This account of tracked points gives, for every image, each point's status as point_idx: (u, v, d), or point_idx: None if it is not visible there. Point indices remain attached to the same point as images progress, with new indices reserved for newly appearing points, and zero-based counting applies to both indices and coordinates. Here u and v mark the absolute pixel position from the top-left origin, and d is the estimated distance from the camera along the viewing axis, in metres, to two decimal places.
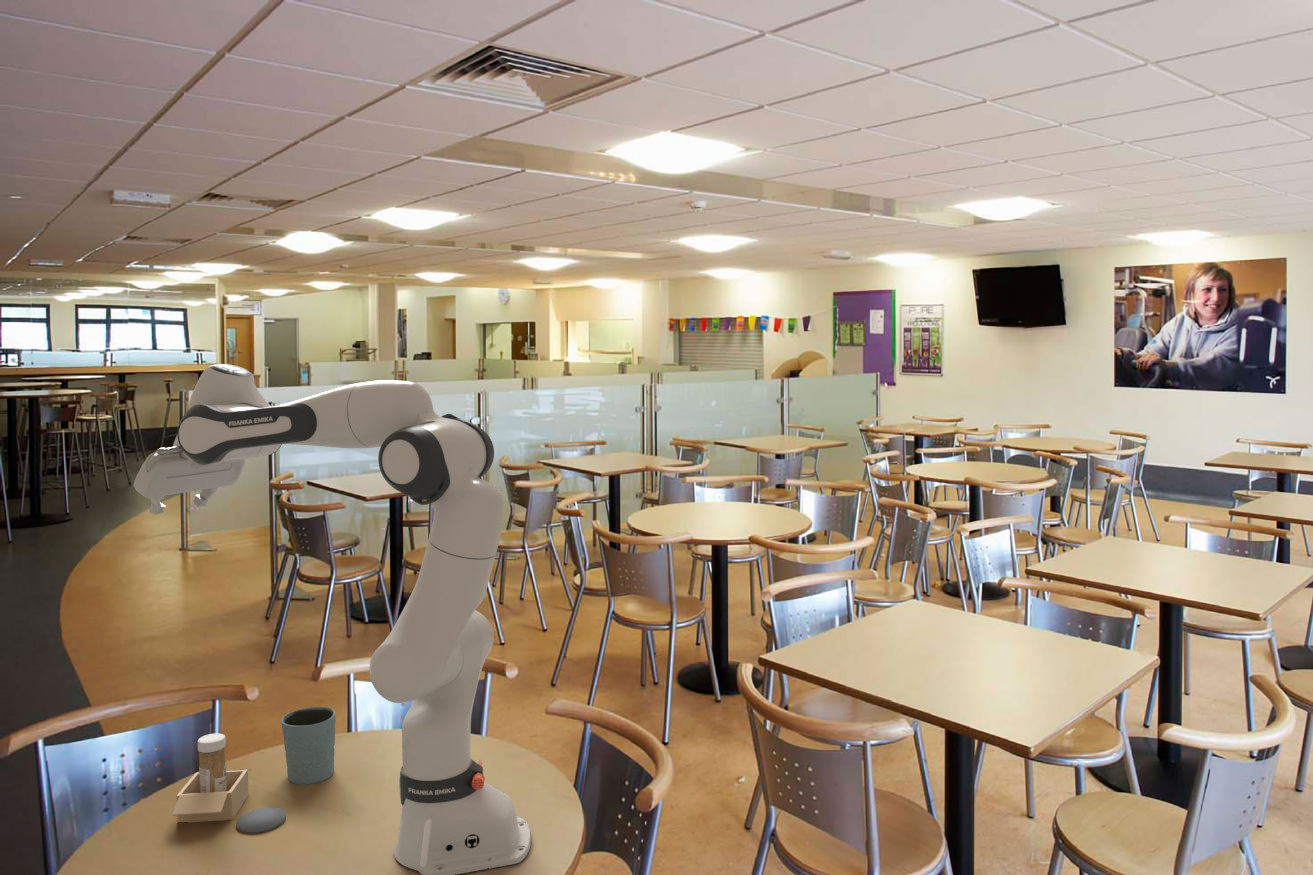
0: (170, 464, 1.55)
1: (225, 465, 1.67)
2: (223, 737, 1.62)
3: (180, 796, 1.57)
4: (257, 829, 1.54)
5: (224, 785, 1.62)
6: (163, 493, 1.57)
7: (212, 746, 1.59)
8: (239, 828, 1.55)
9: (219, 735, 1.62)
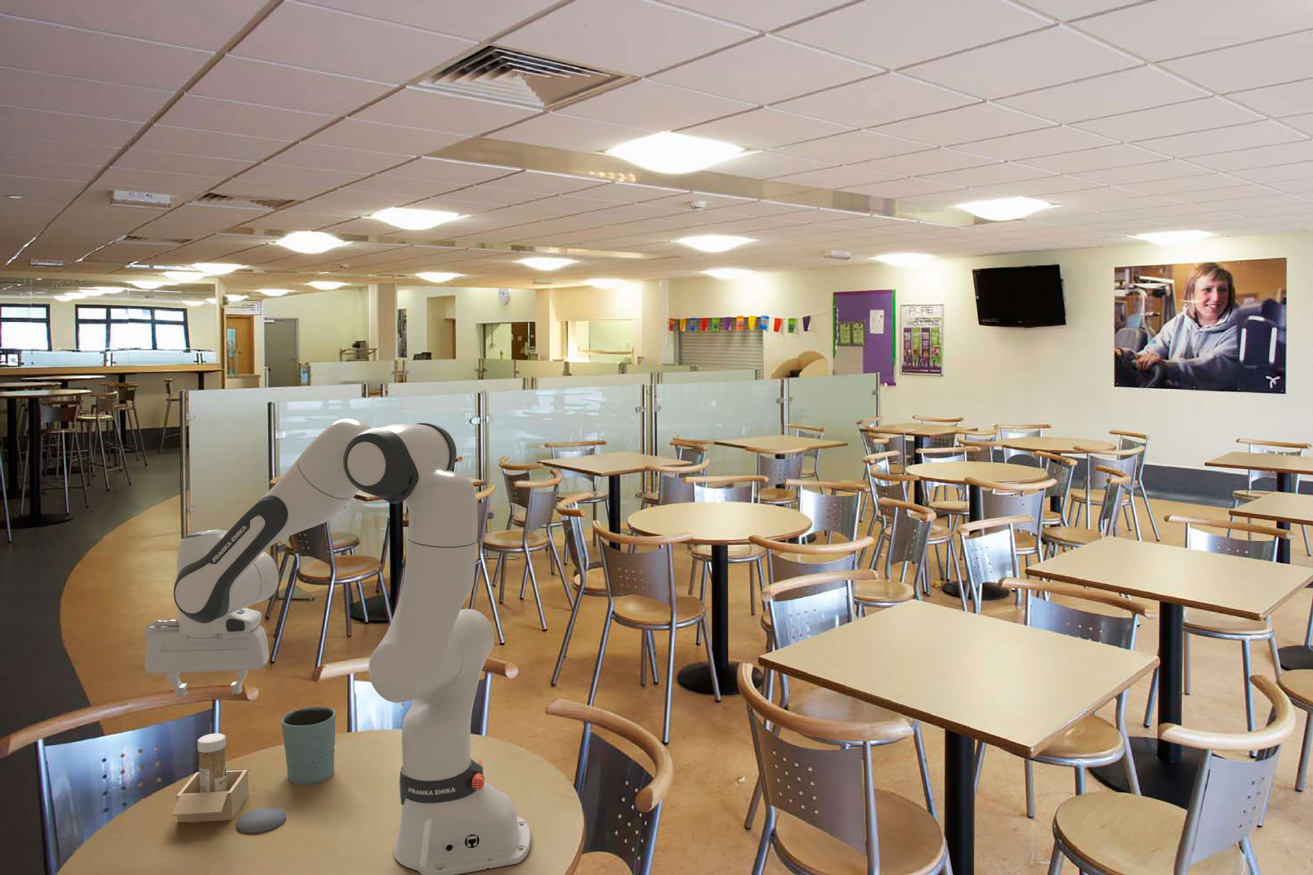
0: (160, 636, 1.57)
1: (237, 643, 1.59)
2: (223, 737, 1.62)
3: (180, 796, 1.57)
4: (257, 829, 1.54)
5: (224, 785, 1.62)
6: (166, 669, 1.58)
7: (212, 746, 1.59)
8: (239, 828, 1.55)
9: (219, 735, 1.62)
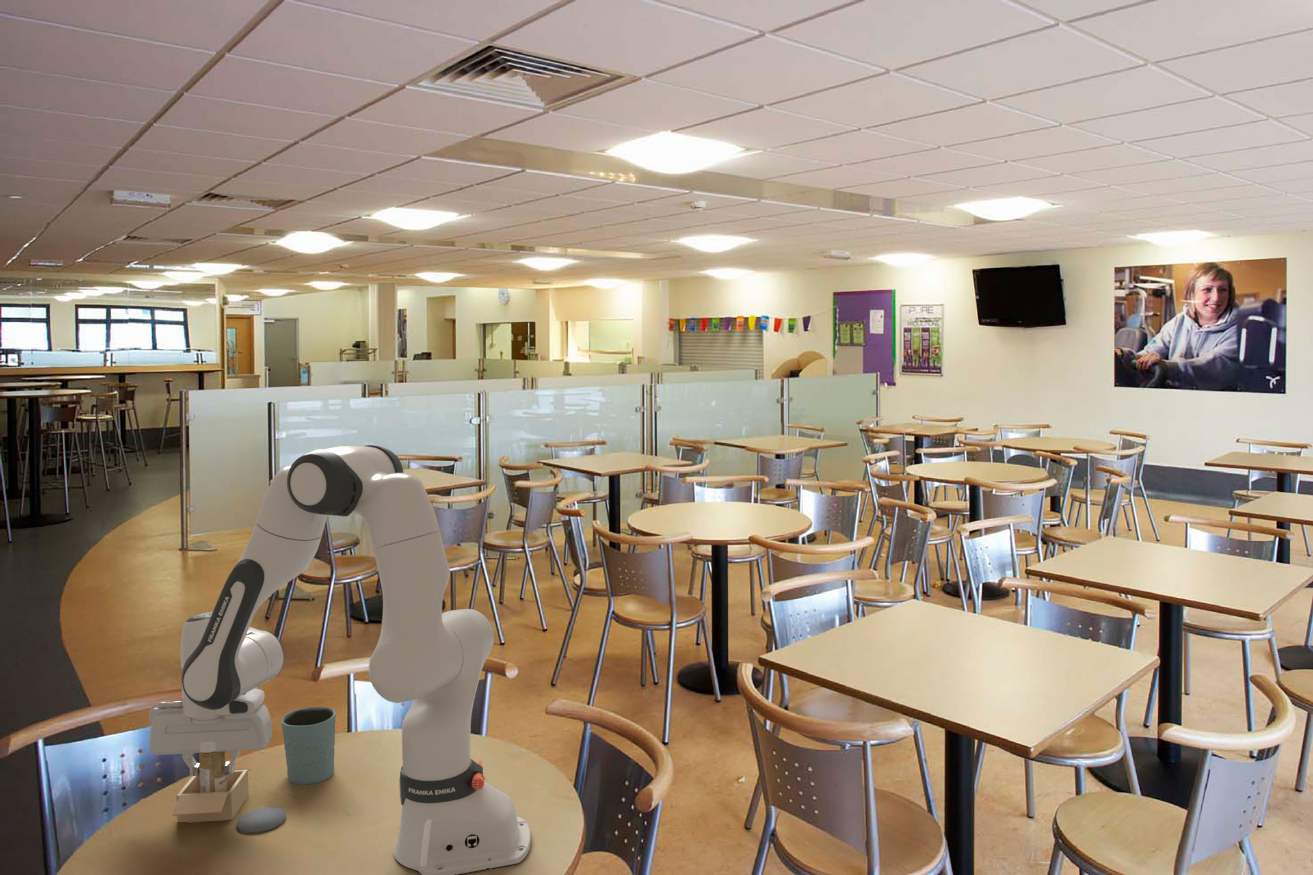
0: (164, 718, 1.58)
1: (241, 724, 1.60)
2: None
3: (180, 796, 1.57)
4: (257, 829, 1.54)
5: (224, 785, 1.62)
6: (170, 750, 1.59)
7: (212, 746, 1.59)
8: (239, 828, 1.55)
9: None
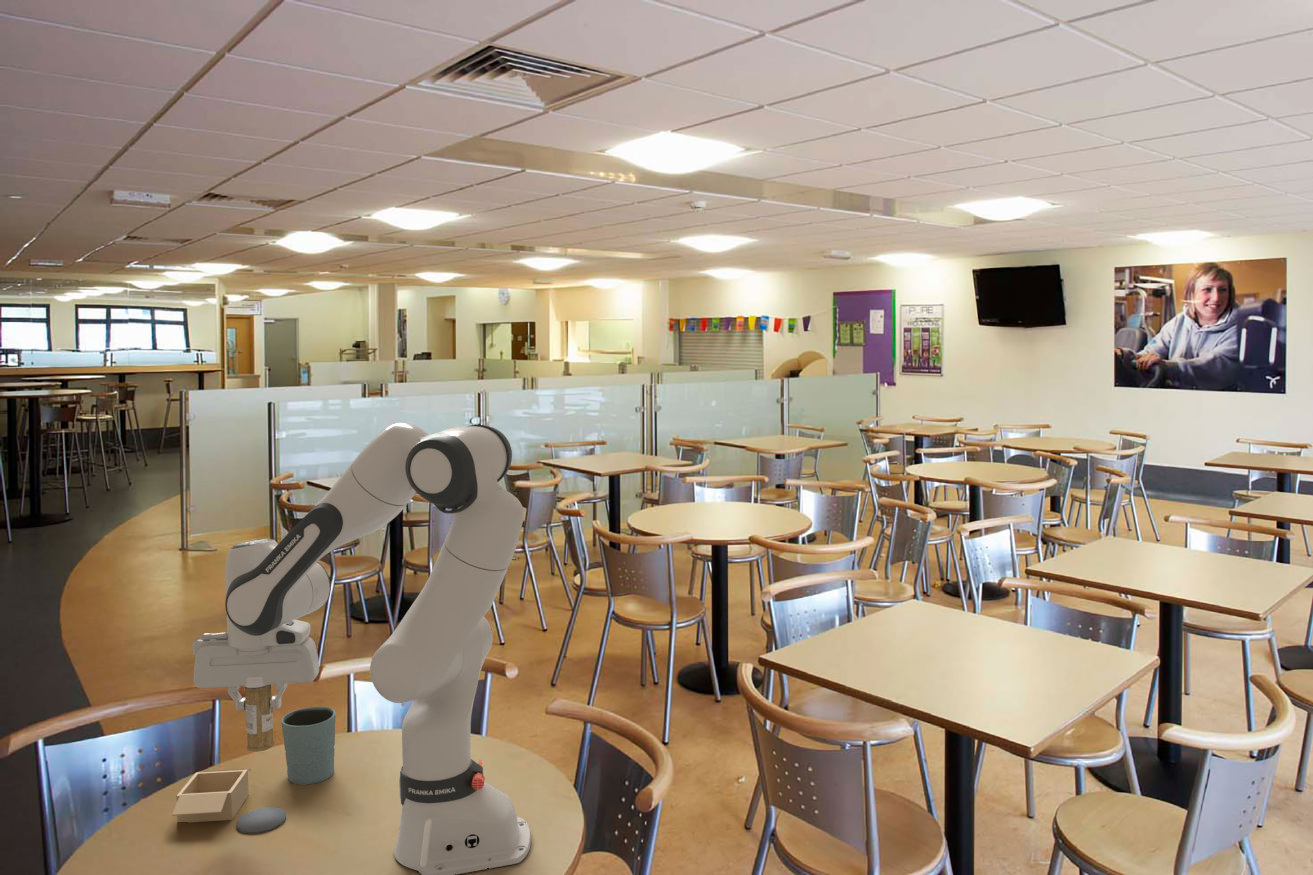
0: (209, 650, 1.53)
1: (288, 656, 1.55)
2: None
3: (180, 796, 1.57)
4: (257, 829, 1.54)
5: (271, 722, 1.56)
6: (215, 684, 1.53)
7: (259, 681, 1.54)
8: (239, 828, 1.55)
9: None
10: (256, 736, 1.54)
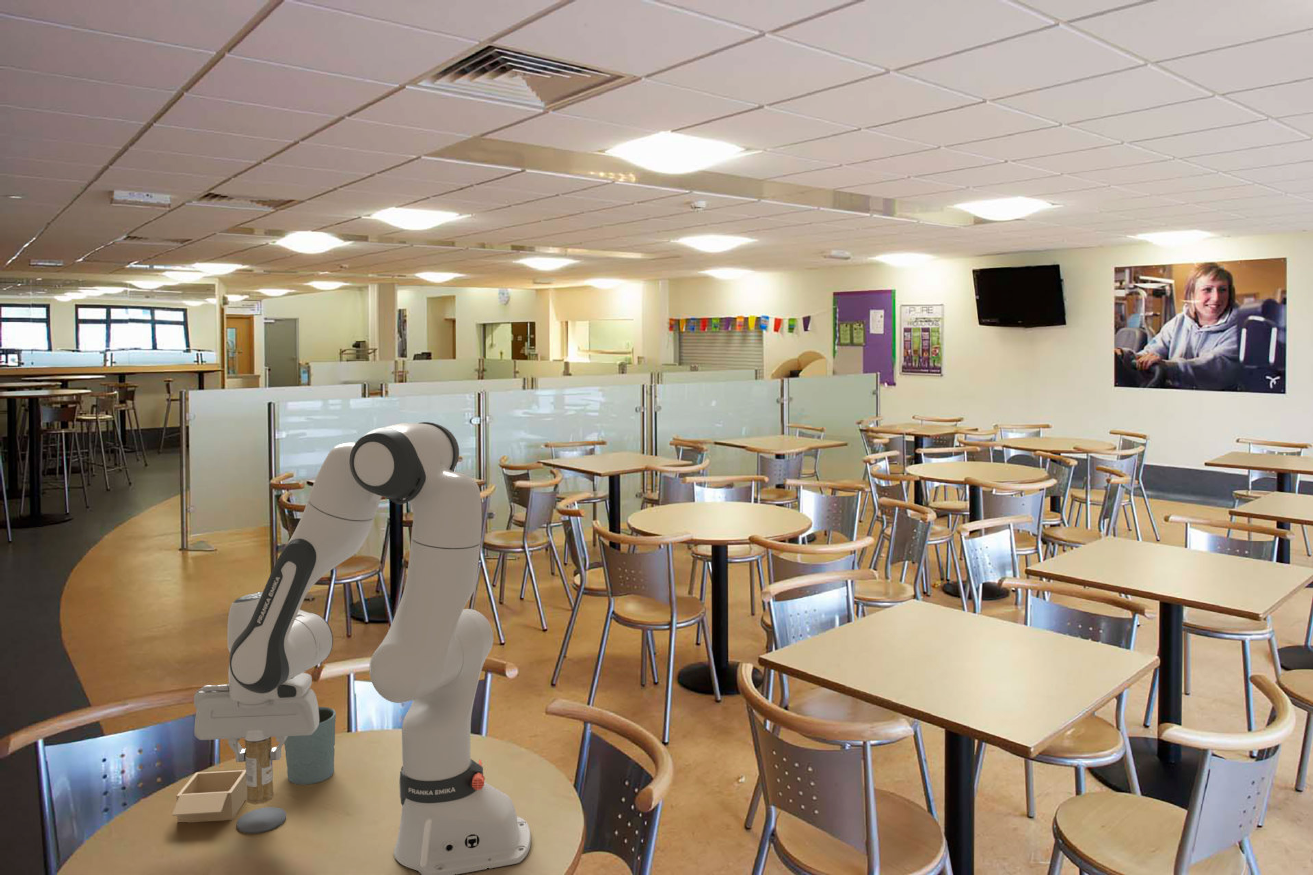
0: (210, 702, 1.53)
1: (288, 708, 1.55)
2: None
3: (180, 796, 1.57)
4: (257, 829, 1.54)
5: (271, 775, 1.57)
6: (215, 735, 1.54)
7: (259, 735, 1.55)
8: (239, 828, 1.55)
9: None
10: (256, 789, 1.55)
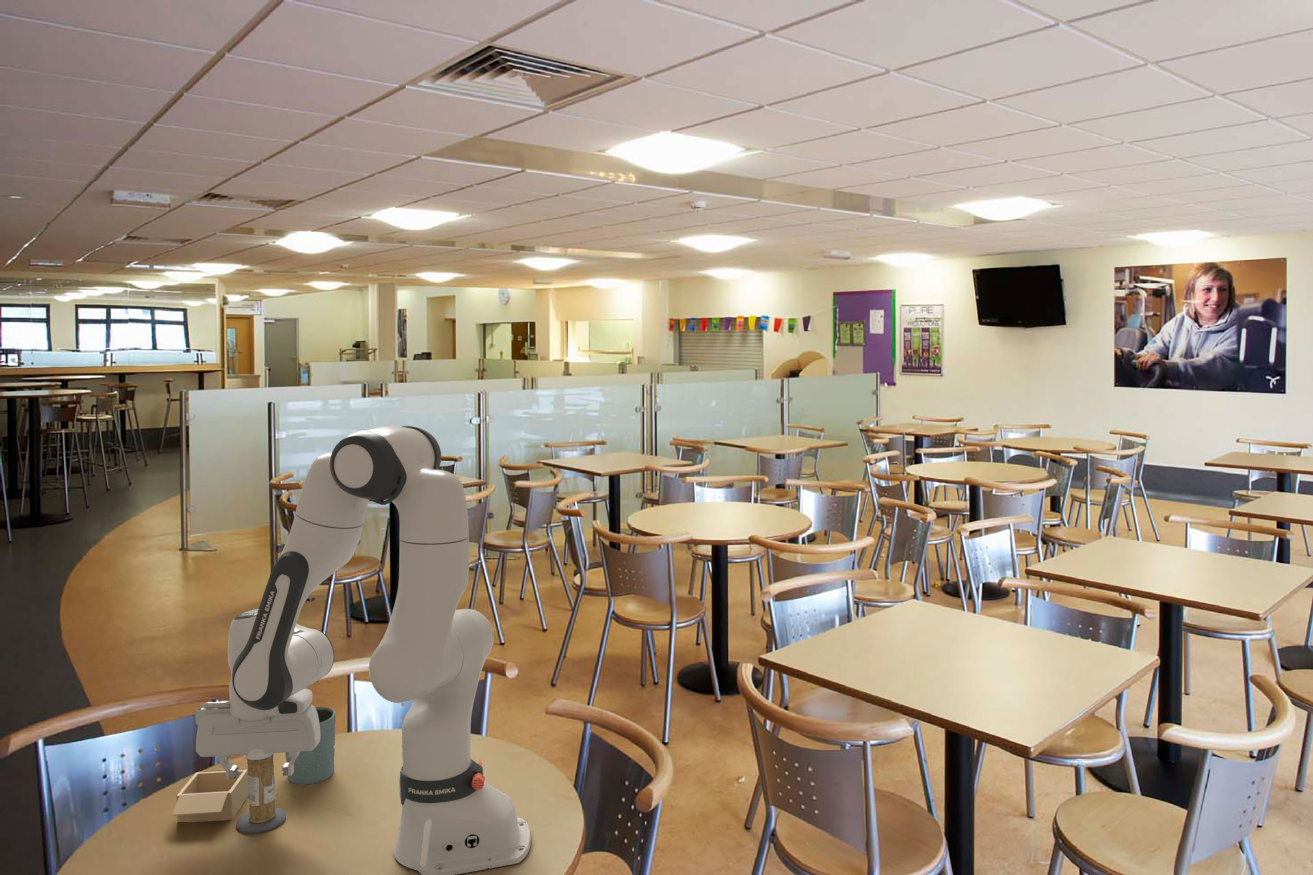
0: (211, 719, 1.54)
1: (289, 724, 1.56)
2: None
3: (180, 796, 1.57)
4: (257, 829, 1.54)
5: (273, 793, 1.57)
6: (217, 752, 1.54)
7: (261, 753, 1.55)
8: (239, 828, 1.55)
9: None
10: (258, 808, 1.56)
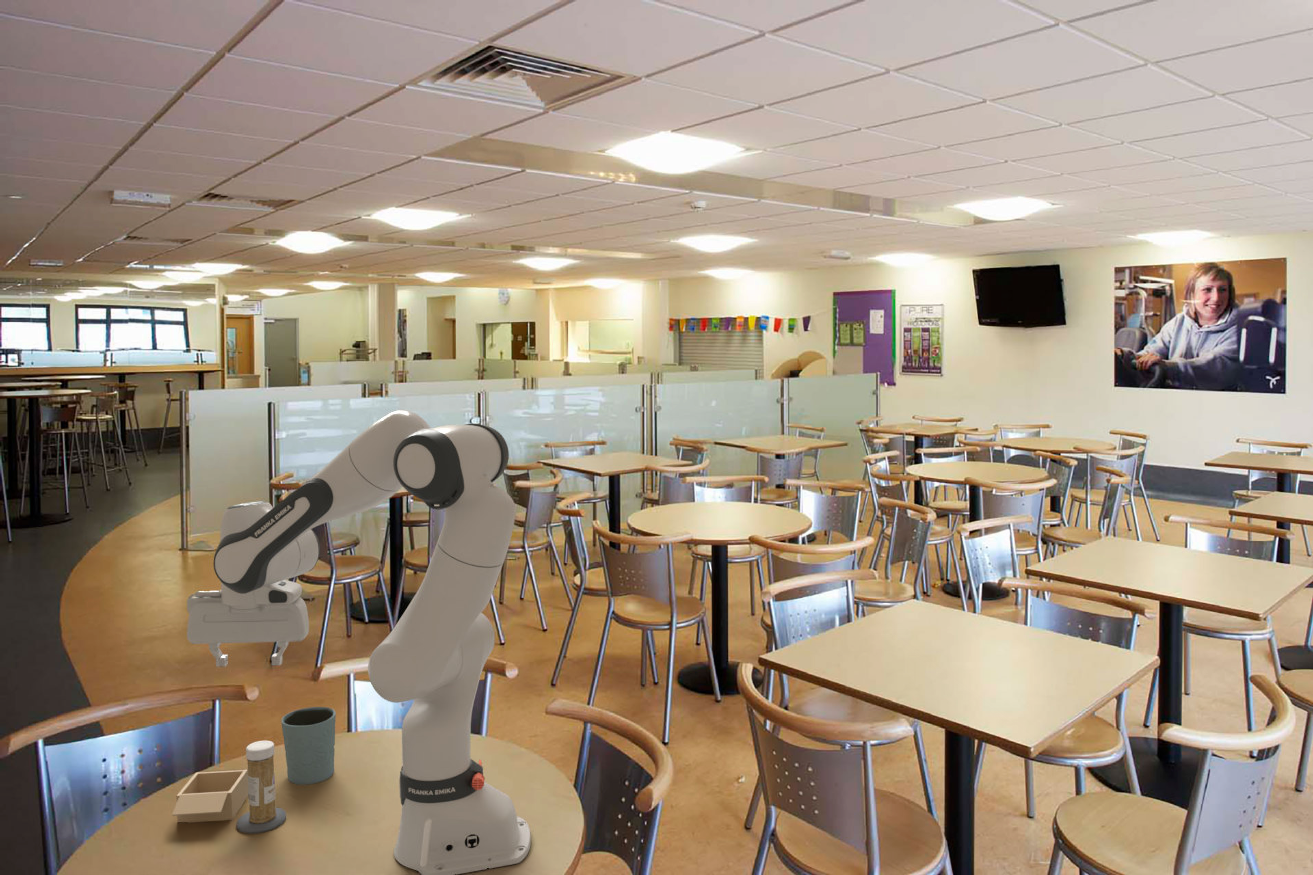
0: (203, 607, 1.57)
1: (279, 615, 1.60)
2: (272, 744, 1.57)
3: (180, 796, 1.57)
4: (257, 829, 1.54)
5: (273, 794, 1.57)
6: (207, 639, 1.58)
7: (262, 754, 1.55)
8: (239, 828, 1.55)
9: (268, 742, 1.58)
10: (259, 808, 1.56)
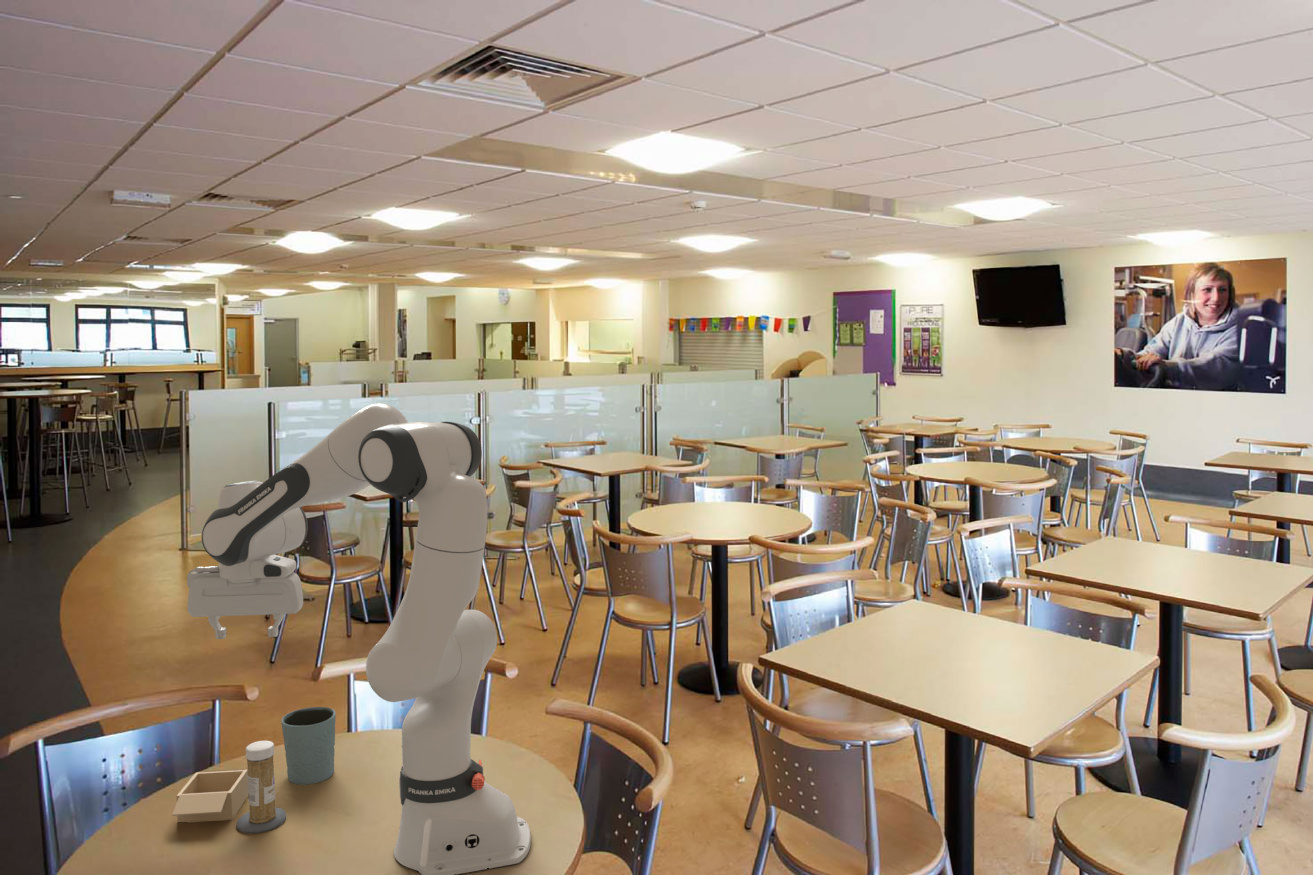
0: (202, 581, 1.66)
1: (274, 588, 1.68)
2: (272, 744, 1.57)
3: (180, 796, 1.57)
4: (257, 829, 1.54)
5: (273, 794, 1.57)
6: (207, 612, 1.66)
7: (261, 754, 1.55)
8: (239, 828, 1.55)
9: (267, 742, 1.58)
10: (259, 809, 1.55)
